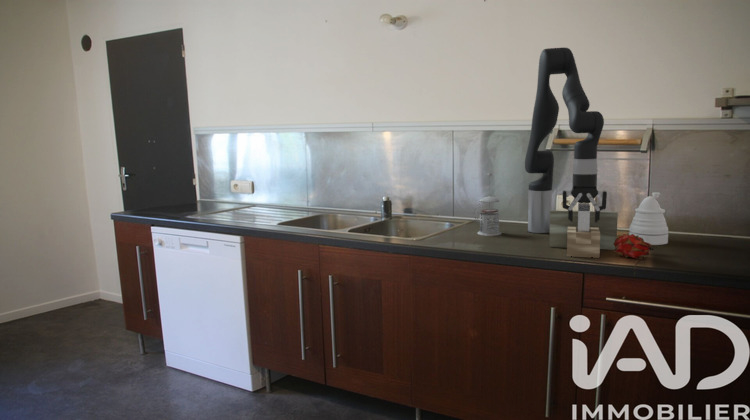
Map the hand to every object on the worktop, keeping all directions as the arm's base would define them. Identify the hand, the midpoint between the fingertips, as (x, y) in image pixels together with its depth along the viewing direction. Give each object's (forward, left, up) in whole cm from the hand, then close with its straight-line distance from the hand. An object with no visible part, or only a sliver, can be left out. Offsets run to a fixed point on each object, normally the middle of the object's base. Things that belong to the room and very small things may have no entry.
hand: (583, 221), depth 182 cm
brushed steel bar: (0, 0, -6) cm, 6 cm away
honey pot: (-26, +23, -11) cm, 36 cm away
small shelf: (-2, 0, -11) cm, 11 cm away
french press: (-29, -36, -11) cm, 48 cm away
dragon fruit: (+3, +15, -11) cm, 19 cm away
